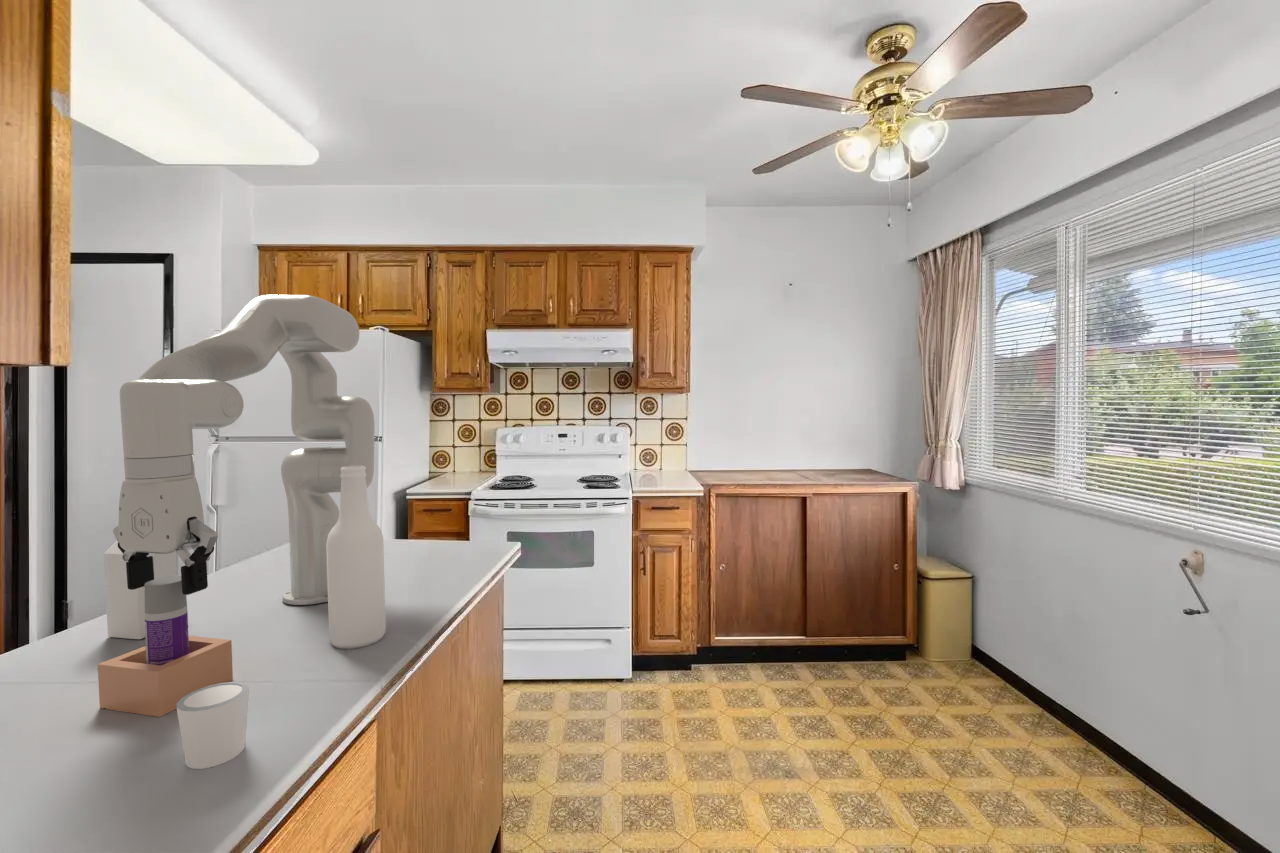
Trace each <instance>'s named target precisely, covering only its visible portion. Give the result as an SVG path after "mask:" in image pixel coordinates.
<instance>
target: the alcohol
mask: <svg viewBox="0 0 1280 853" xmlns="http://www.w3.org/2000/svg"><path fill="white" fill-rule="evenodd" d="M365 470H366V467H365V466H345V467H342V468H341V469H340V471H341V475H340V477H341V492H340V497H339V498H340V499H339V518H338V522H337V523H336V524H335V526H334V527H333V528H332V529H331V531H330V532H329V534H328V539H327V543H326V550H327V582H328V603H327V609H328V636H329V637H328V638H329V642H330V643H331V645H333V646H334V647H335V648H338V649H341V650H346V649H347V650H352V649H358V648H359V649H360V648H364V647H369V646H371V645H373V644H375V643H377V642H379V641H380V640H382V638H383V637H384V635H385V634H386V632H387V624H386V623H387V622H386V621H387V620H386V618H387V617H386V592H385V590H386V589H385V588H386V585H385V583H386V582H385V553H384V551H385V550H384V548H385V547H384V535H383V531H382V529H381V527H380V526H379V525H378V524H377V522H376V521H375V520H373V518H372V515H371V513H370V504H369V499H368V498H369V497H368V488H367V487H366V478H365V477H366V473H365Z"/></svg>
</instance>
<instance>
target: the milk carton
mask: <svg viewBox="0 0 1280 853" xmlns="http://www.w3.org/2000/svg"><path fill="white" fill-rule="evenodd" d="M122 555H123V553H122V552H121V550H120V549H119V548H118V542H117V539H116V540H115V541H114V542H113V543H112V544H111V546H110V547H109V548H107V550H106V551H105V552H103V560H104V578H105V581H104V582H105V583H104V584H105V598H106V599H105V600H106V601H105V602H106V620H107V621H106V623H107V624H106V625H107V637H110V638H120V639H128V640H129V639H130V640H142V639H145V586H144V587H140V588H137V589H134V590H130V589H128V586H127V571H126V562H125V561H124V560H123V559H122ZM148 556H153V567H154V580H155V579H159V578H164V577H173V576H178V564H177V563H178V561H177V560H178V558H177V552H176V551H175V552H173V553H169V554H158V553H149V555H148ZM148 556H147V557H148ZM127 562H128V561H127Z"/></svg>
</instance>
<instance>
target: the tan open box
mask: <svg viewBox="0 0 1280 853" xmlns="http://www.w3.org/2000/svg"><path fill="white" fill-rule="evenodd" d="M188 639H189V654H187V655H185V656H182V657H180V658H178V659H175V660H173V661H171V662H168V663H166V664H164V665H161V666H160V665H151V664H146V645H145V646H142V647H140V648H137V649H135V650H131V651H128V652H126V653H123V654H121V655H119V656H118V655H117V656H116V657H112V658H111V659H108V660H106V661H102V662H100V663H97V674H98V676H97V678H98V698H99V708H100V709H103V708H106V709H105V710H109V711H117V712H124V713H130V714H131V713H132V714H138V715H142V716H143V715H144V716H150V717H151V716H152V717H155V718H158V717H159V718H161V717H163V716H165V715H168V713H171V712H173V711H174V710H177V702H178V701H179V700H180V699H181V698H182V697H184V696H186V695H188V694H189V693H191V692H193V691H196V690H198V689H201V688H204V687H207V686H211V685H215V684H219V683H227V682H233V681H234V674H233V673H234V672H233V648H232V639H223V638H217V637H207V636H196V635H188Z"/></svg>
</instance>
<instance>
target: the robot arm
mask: <svg viewBox="0 0 1280 853" xmlns="http://www.w3.org/2000/svg"><path fill="white" fill-rule="evenodd" d="M359 340H360V327H359V325H358V321H357V319H355V317H354V315H352V314H351V312H349V311H348V310H346V309H344V308H342V307H341V306H339V305H337V304H335V303H332V302H330V301H328V300H326V299H324V298H321V297H319V296H315V295H309V294H279V295H278V294H266V295H265V294H263V295H260V296H257V297H254V298H253V299H251V300H250V301H248V303H246V304H245V305H244V306H243V307H242V308H241V309H240V311H239V312H237V314H236V315H234V317H233V318H231V320H230V321H229V322H228V323H227V324H226V325H225V326H224V327H223V328H222V329H221V330H220V331H219V332H218V333H216V334H215V335H212V336H209V337H207V338H204V339H201V340H198V341H196V342H195V343H193V344H191V345H188V346H185V347H183V348H181V349H179V350H176V351H174V352H172V353H169V354H168V355H166V356H164V357H162V358H161V359H159V360H158V361H156V362H155V363H153V364H152V365H151V366H149V368H148V369H147V370H146V371H144V373H143V374H142V375H140V377H139V378H138V379H137V380H134V379H133V380H129V381H126V382H124V383H122V385H121V386H120V389H119V406H120V420H121V422H120V423H121V435H122V437H121V438H122V449H123V450H122V451H123V464H124V465H123V466H124V480H122V482H121V483H122V484H121V488H120V494H119V500H118V501H119V502H118V525H117V526H115V527H114V528H113V530H112V532H113V535H114V537H115V539H116V540H117V542H118V548H119V549H120V550H121V552H122V553H123V555H122V559H123V560H124V561H125V562H126V571H127V586H128V589H130V590H134V589H137V588H140V587H144V586H145V583H146V582H148V581H151V580H154V567H153V556H148V555H149V553H158V554H169V553H173V552H175V551H176V555H177V556H178V557H179V558H180V560H181V561H182V563H184V565H183V566H180V576H181V580H182V593H183V594H184V595H186V596H189V595H191V594H195V593H197V592H201V591H203V590H206V589H207V588H208V586H209V583H208V565H207V562H208V561H210V559H211V554H213V552H214V551H215V546H216V543H217V540H218V537H219V535H218V532H217V531H215V530H214V529H213V528H211V527H210V526H209V525H207V524H205V519H204V518H205V517H204V509H203V503H202V496H201V493H200V488H199V484H198V480H197V477H195V476H196V473H195V453H194V440H193V439H194V437H193V436H194V435H193V430H213V429H215V430H216V429H223V428H225V427H229V426H230V425H232V424H235V422H237V420H239V419H240V417H241V416H242V413H243V411H244V398H243V395H242V393H241V392H240V391H239V390H238V389H237V388H236V387H235V386H234V385H233V384H231V383H229V382H230V381H233V380H238V379H242V378H245V377H249V376H252V375H255V374H257V373H259V372H261V371H262V370H264V369H265V368H266V367H267V366H268V365H269V364H270V362H271V361H272V359H274V357H275V356H276V354H277V353H278V352H279V354H280V356H281V357H282V358H283V360H284V362H285V363H286V365H287V367H288V369H289V373H290V378H291V379H290V380H291V398H290V401H291V403H290V405H291V406H290V409H291V410H290V423H291V424H290V425H291V430H292V431H291V432H292V434H293V435H294V436H295V437H296V438H297V439H299V440H302V441H308V442H344V444H345V447H328V446H327V447H326V446H325V447H302V448H298V449H295V450H292V451H290V452H289V453H288V454H287V455H285V457H284V458H283V460H282V462H281V466H280V473H281V479H282V483H283V487H284V491H285V495H286V501H287V502H286V503H287V513H288V538H289V542H288V543H289V564H290V565H289V566H290V589H289V590H286V591H285V592H284V593H282V602H284V603H285V604H287V605H293V606H308V605H317V604H323V603H327V602H328V582H327V550H326V543H327V539H328V534H329V532H330V531H331V529H332V528H333V527H334V526H335V524H336V523H337V522H338V518H339V512H340V508H339V507H338V504H337V503H336V501H335V500H334V499H333V497H332V496H331V494H330V493H341V477H340V475H341V471H340V469H341V468H342V467H345V466H365V467H366V470H365V473H366V477H365V478H366V487H367V489H369V487H370V486H371V484H372V482H373V478H374V472H375V415H374V412H373V408H372V406H371V404H370V403H369V401H368V400H366V399H365V398H363V397H360V396H354V395H349V396H348V395H347V396H344V395H342V396H341V395H340V396H338V375H337V372H336V369H335V368H334V366H333V365H332V363H331V362H330V361H329V359H327V358H326V356H324V354H323V353H347V352H350V351H352V350H353V349H354V348H356V347H357V345H358V343H359ZM190 550H193V552H192V553H190ZM147 556H148V557H147ZM127 561H128V562H127Z"/></svg>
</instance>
